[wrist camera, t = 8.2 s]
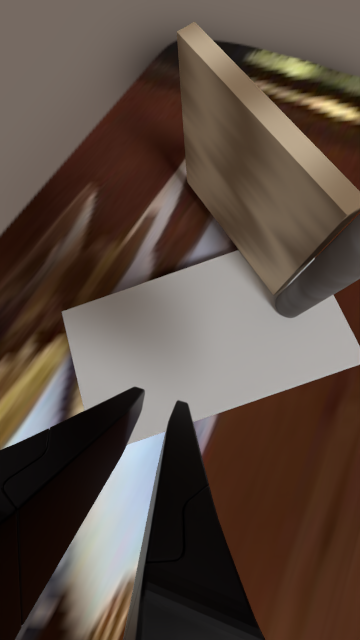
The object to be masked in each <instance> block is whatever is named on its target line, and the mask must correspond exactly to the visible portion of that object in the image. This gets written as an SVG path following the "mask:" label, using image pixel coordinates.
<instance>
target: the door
mask: <svg viewBox="0 0 360 640" xmlns="http://www.w3.org/2000/svg"><path fill="white" fill-rule="evenodd" d="M177 40H178V54H179V69H180V83H181V98H182V112H183V127H184V141H185V156H186V171H187V182H188V184H189V185H190V186H191V188H192V189H193V190H194V192H195V193H196V194H197V195H198V197H199V198H200V199H201V201H202V202H203V203H204V205H205V206H206V207H207V209H208V210H209V211H210V213H211V214H212V215H213V216H214V218H215V219H216V220H217V222H218V223H219V224H220V226H221V227H222V228H223V230H224V231H225V232H226V234H227V235H228V236H229V237H230V239H231V240H232V241H233V243H234V244H235V245H236V247H237V248H238V249H239V251H240V252H241V253H242V254H243V256H244V257H245V258H246V260H247V261H248V262H249V264H250V265H251V266H252V268H253V269H254V270H255V272H256V273H257V274H258V275H259V277H260V278H261V279H262V281H263V282H264V283H265V285H266V286H267V287H268V289H269V290H270V291H271V293H272V294H273V295H274V294H276V293H278V292H279V291H281V290H282V289H284V288H285V287H286V286H287V285H288V284H289V283H290V282H291V281H292V280H293V279H294V278H295V277H296V276H297V275H298V274H299V273H300V272H301V271H302V270H303V269H304V268H305V267H306V266H307V265H308V264H309V263H310V262H311V261H312V260H313V258H314V257H315V256H316V255H317V254H318V253H319V252H320V251H321V250H322V249H323V248H324V247H325V246H326V245H327V244H328V243H329V242H330V241H331V240H332V239H333V238H334V237H335V236H336V235H337V234H338V233H339V232H340V231H341V230H342V229H343V228H344V227H345V226H346V225H347V224H348V223H349V222H350V221H351V220H352V219H353V218H354V217H355V215H356V214H357V213H358V212H359V211H360V192H359V190H358V189H357V188H356V187H355V186H354V185H353V184H352V183H351V182H350V181H349V180H348V179H347V178H346V177H345V176H344V175H343V174H342V173H341V172H340V171H339V170H338V169H337V168H336V167H335V166H334V165H333V164H332V163H331V162H330V161H329V160H328V159H327V158H326V157H325V155H324V154H323V153H322V152H321V151H320V150H319V149H318V148H317V147H316V146H315V145H314V144H313V143H312V142H311V141H310V140H309V139H308V138H307V137H306V136H305V135H304V134H303V133H302V132H301V131H300V130H299V129H298V128H297V127H296V126H295V125H294V124H293V123H292V122H291V120H290V119H289V118H288V117H287V116H286V115H285V114H284V113H283V112H282V111H281V110H280V109H279V108H278V107H277V106H276V105H275V104H274V103H273V102H272V101H271V100H270V99H269V98H268V97H267V96H266V95H265V94H264V93H263V92H262V91H261V90H260V89H259V88H258V87H257V85H256V84H255V83H254V82H253V81H252V80H251V79H250V78H249V77H248V76H247V75H246V74H245V73H244V72H243V71H242V70H241V69H240V68H239V67H238V66H237V65H236V64H235V63H234V62H233V61H232V60H231V59H230V58H229V57H228V56H227V55H226V54H225V53H224V52H223V51H222V49H221V48H220V47H219V46H218V45H217V44H216V43H215V42H214V41H213V40H212V39H211V38H210V37H209V36H208V35H207V34H206V33H205V32H204V31H203V30H202V29H201V28H200V27H199V26H198V25H197V24H196V23H195V22H194V23H192V24H190V25H188V26H186V27H185V28H183V29H181V30H180V31H178V32H177ZM358 279H360V214H359V215H358V216H357V217H356V218H355V219H354V220H353V221H352V222H351V223H350V224H349V225H348V226H347V227H346V228H345V229H344V230H343V231H342V232H341V233H340V234H339V235H338V236H337V237H336V238H335V239H334V240H333V241H332V242H331V243H330V244H329V245H328V246H327V247H326V248H325V249H324V250H323V251H322V252H321V253H320V254H319V255H318V256H317V257H316V258H315V259H314V260H313V261H312V262H311V263H310V264H309V265H308V266H307V267H306V268H305V269H304V270H303V271H302V272H301V273H300V274H299V275H298V276H297V277H296V278H295V279H294V280H293V281H292V282H291V283H290V284H289V285H288V286H287V287H286V288H285V289H284V290H283V291H282V292H281V293H280V295H279V296H278V297H277V298H276V301H275V307H276V310H277V311H278V313H279V314H280V315H282V316H284V317H287V318H294V317H296V316H298V315H300V314H302V313H303V312H305V311H307V310H308V309H310V308H312V307H313V306H315V305H317V304H318V303H320V302H322V301H323V300H325V299H327V298H328V297H330V296H332V295H333V294H335V293H337V292H338V291H340V290H342V289H343V288H345V287H347V286H348V285H350V284H352V283H353V282H355V281H357V280H358Z"/></svg>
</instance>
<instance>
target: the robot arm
mask: <svg viewBox="0 0 360 640" xmlns="http://www.w3.org/2000/svg"><path fill="white" fill-rule="evenodd" d="M144 396H145V390H144V389H142V388H139V387H132V388H130V389H128V390H126V391H124V392H122V393H120V394H118V395H116V396H114V397H112V398H110V399H107V400H105V401H103V402H101V403H99V404H97V405H95V406H93V407H91V408H89V409H87V410H85V411H83V412H81V413H79V414H77V415H75V416H73V417H71V418H69V419H67V420H65V421H63V422H61V423H59V424H56V425H54V426H52V427H51V428H50V430H49V429H46V430H44V431H42V432H40V433H38V434H36V435H34V436H32V437H29V438H27V439H25V440H23V441H21V442H19V443H16V444H14V445H12V446H9V447H7V448H4V449H2V450H0V640H15V638H16V636H17V634H18V633H19V631H20V629H21V625H23V624H24V622H25V620H26V619H27V617H28V615H29V614H30V612H31V610H32V608H33V607H34V605H35V603H36V602H37V600H38V598H39V596H40V595H41V593H42V591H43V590H44V588H45V586H46V584H47V583H48V581H49V579H50V578H51V576H52V574H53V572H54V571H55V569H56V567H57V566H58V564H59V562H60V560H61V559H62V557H63V555H64V554H65V552H66V550H67V548H68V547H69V545H70V543H71V542H72V540H73V538H74V536H75V535H76V533H77V531H78V530H79V528H80V526H81V524H82V523H83V521H84V519H85V518H86V516H87V514H88V512H89V511H90V509H91V507H92V506H93V504H94V502H95V500H96V499H97V497H98V495H99V494H100V492H101V490H102V488H103V487H104V485H105V483H106V482H107V480H108V478H109V477H110V475H111V473H112V471H113V470H114V468H115V466H116V465H117V463H118V461H119V459H120V458H121V456H122V454H123V452H124V450H125V448H126V446H127V443H128V441H129V439H130V436H131V434H132V432H133V430H134V427H135V425H136V423H137V421H138V418H139V416H140V414H141V411H142V407H143V401H144ZM123 640H265V638H264V636H263V634H262V632H261V630H260V628H259V626H258V624H257V621H256V619H255V617H254V614H253V612H252V609H251V607H250V604H249V601H248V599H247V596H246V593H245V591H244V588H243V585H242V583H241V580H240V577H239V575H238V572H237V569H236V567H235V564H234V561H233V559H232V556H231V553H230V551H229V548H228V545H227V543H226V540H225V537H224V534H223V531H222V528H221V525H220V522H219V520H218V516H217V513H216V509H215V506H214V502H213V499H212V495H211V491H210V487H209V483H208V479H207V475H206V471H205V467H204V464H203V460H202V456H201V452H200V448H199V444H198V440H197V436H196V432H195V428H194V424H193V420H192V416H191V412H190V408H189V405H188V403H187V402H183V401H180V400H177V401H176V404H175V406H174V408H173V411H172V413H171V416H170V418H169V421H168V424H167V428H166V433H165V437H164V441H163V446H162V450H161V454H160V458H159V463H158V467H157V471H156V476H155V481H154V486H153V491H152V496H151V501H150V506H149V512H148V517H147V522H146V527H145V532H144V537H143V542H142V547H141V552H140V557H139V562H138V567H137V572H136V577H135V582H134V587H133V592H132V597H131V602H130V607H129V613H128V618H127V623H126V628H125V633H124V638H123Z"/></svg>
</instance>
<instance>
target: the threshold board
mask: <svg viewBox="0 0 360 640" xmlns="http://www.w3.org/2000/svg"><path fill="white" fill-rule="evenodd" d="M314 259H315V258H313V260H314ZM313 260H312V261H313ZM312 261H311V262H312ZM311 262H310V263H311ZM310 263H309V264H310ZM309 264H308V265H309ZM308 265H307V266H308ZM307 266H306V267H307ZM306 267H305V268H306ZM305 268H304V269H305ZM304 269H303V270H304ZM303 270H302V271H303ZM302 271H301V272H302ZM301 272H300V273H301ZM300 273H299V274H300ZM299 274H298V275H299ZM298 275H297V276H298ZM297 276H296V277H297ZM296 277H295V278H296ZM295 278H294V279H295ZM294 279H293V280H294ZM293 280H292V281H293ZM292 281H291V282H292ZM291 282H290V283H291ZM290 283H289V284H290ZM289 284H288V285H289ZM288 285H287V286H288ZM287 286H286V287H287ZM286 287H285V288H286ZM285 288H284V289H285ZM284 289H282V290H281V291H279V292H278V293H276V294H274V295H273V294H272V293H271V291H270V290H269V289H268V287H267V286H266V285H265V283H264V282H263V281H262V279H261V278H260V277H259V275H258V274H257V273H256V272H255V270H254V269H253V268H252V266H251V265H250V264H249V262H248V261H247V260H246V258H245V257H244V256H243V254H242V253H241V252H240V251H239V250H237V251H234V252H231V253H228V254H225V255H222V256H220V257H217V258H214V259H211V260H208V261H205V262H202V263H200V264H197V265H194V266H191V267H188V268H185V269H182V270H180V271H177V272H174V273H171V274H168V275H165V276H162V277H160V278H157V279H154V280H151V281H148V282H145V283H142V284H140V285H137V286H134V287H131V288H128V289H125V290H122V291H119V292H117V293H114V294H111V295H108V296H105V297H102V298H99V299H97V300H94V301H91V302H88V303H85V304H82V305H79V306H77V307H74V308H71V309H68V310H65V311H62V315H63V319H64V324H65V328H66V332H67V337H68V341H69V345H70V350H71V354H72V358H73V363H74V367H75V371H76V376H77V380H78V384H79V389H80V393H81V397H82V402H83V406H84V410H87V409H89V408H91V407H93V406H95V405H97V404H99V403H101V402H103V401H105V400H107V399H110V398H112V397H114V396H116V395H118V394H120V393H122V392H124V391H126V390H128V389H130V388H132V387H139V388H142V389H144V390H145V396H144V401H143V407H142V411H141V414H140V416H139V418H138V421H137V423H136V425H135V427H134V430H133V432H132V434H131V436H130V439H129V441H128V443H127V445H128V444H130V443H133V442H136V441H139V440H142V439H145V438H148V437H151V436H154V435H157V434H159V433H162V432H165V431H166V428H167V424H168V421H169V418H170V416H171V413H172V411H173V408H174V406H175V404H176V401H177V400H180V401H183V402H187V403H188V405H189V408H190V412H191V416H192V420H193V422H194V421H197V420H200V419H203V418H206V417H209V416H212V415H214V414H217V413H220V412H223V411H226V410H229V409H232V408H235V407H238V406H241V405H243V404H246V403H249V402H252V401H255V400H258V399H261V398H264V397H267V396H269V395H272V394H275V393H278V392H281V391H284V390H287V389H290V388H293V387H296V386H298V385H301V384H304V383H307V382H310V381H313V380H316V379H319V378H322V377H325V376H327V375H330V374H333V373H336V372H339V371H342V370H345V369H348V368H351V367H353V366H356V365H359V364H360V346H359V344H358V342H357V340H356V338H355V337H354V335H353V333H352V331H351V329H350V327H349V325H348V323H347V321H346V319H345V317H344V315H343V313H342V311H341V309H340V307H339V305H338V303H337V301H336V299H335V297H334V295H332V296H330V297H328V298H327V299H325V300H323V301H322V302H320V303H318V304H317V305H315V306H313V307H312V308H310V309H308V310H307V311H305V312H303V313H302V314H300V315H298V316H296V317H294V318H287V317H284V316H282V315H280V314H279V313H278V311H277V310H276V307H275V301H276V298H277V297H278V296H279V295H280V293H281V292H282V291H283V290H284Z"/></svg>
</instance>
